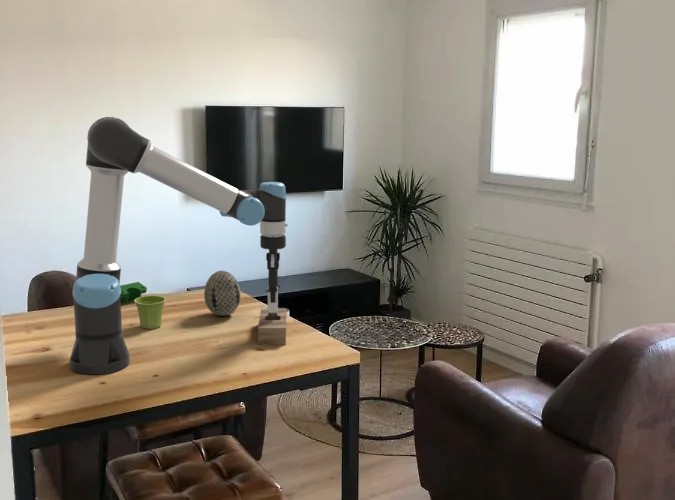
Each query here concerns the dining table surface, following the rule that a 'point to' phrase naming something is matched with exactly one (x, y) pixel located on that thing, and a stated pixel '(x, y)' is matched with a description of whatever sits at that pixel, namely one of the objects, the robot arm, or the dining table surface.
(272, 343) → the hole block
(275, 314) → the steel peg
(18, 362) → the dining table surface
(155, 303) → the plant pot
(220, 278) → the decorative egg
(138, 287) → the clamp
